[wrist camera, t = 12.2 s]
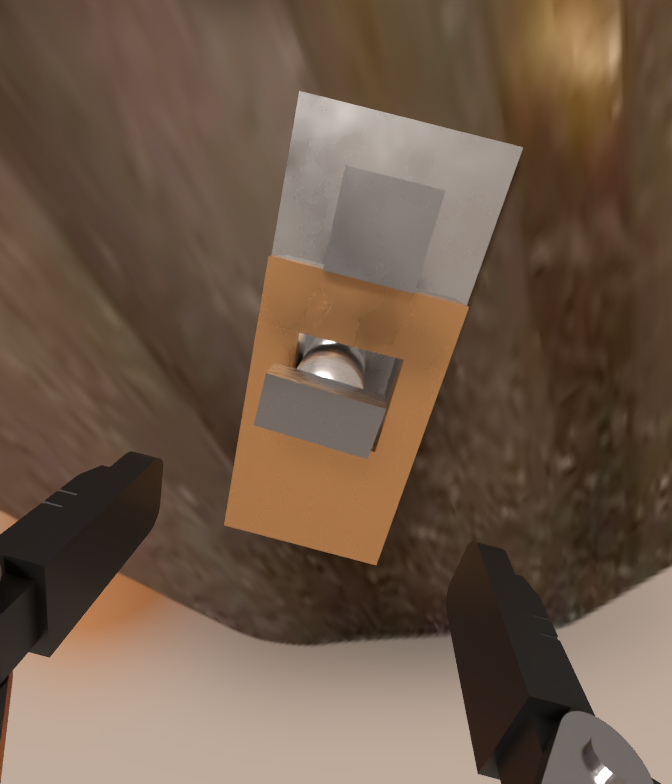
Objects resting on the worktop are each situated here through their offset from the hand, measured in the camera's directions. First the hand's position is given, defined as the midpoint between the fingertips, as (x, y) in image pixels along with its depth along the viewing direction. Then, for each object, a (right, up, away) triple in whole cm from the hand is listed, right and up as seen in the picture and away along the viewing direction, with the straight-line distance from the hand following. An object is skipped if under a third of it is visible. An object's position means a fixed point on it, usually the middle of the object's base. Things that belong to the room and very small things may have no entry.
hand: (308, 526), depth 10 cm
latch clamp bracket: (+3, +9, +19) cm, 21 cm away
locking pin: (+1, +7, +19) cm, 20 cm away
